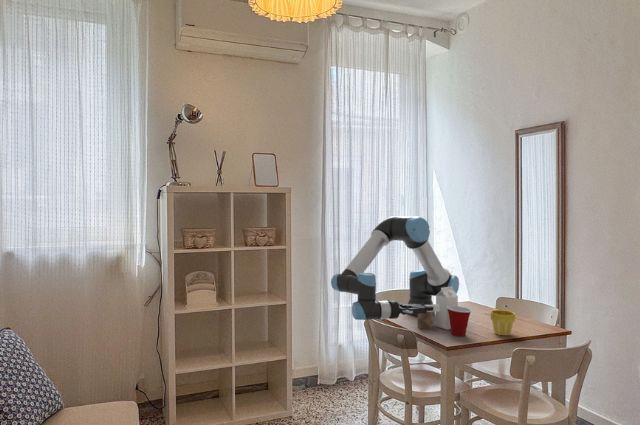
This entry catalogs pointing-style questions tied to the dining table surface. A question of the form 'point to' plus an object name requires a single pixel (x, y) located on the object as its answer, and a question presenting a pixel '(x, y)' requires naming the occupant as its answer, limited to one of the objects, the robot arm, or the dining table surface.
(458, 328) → the plastic cup
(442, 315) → the milk carton
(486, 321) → the dining table surface
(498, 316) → the plant pot
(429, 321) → the walnut block
